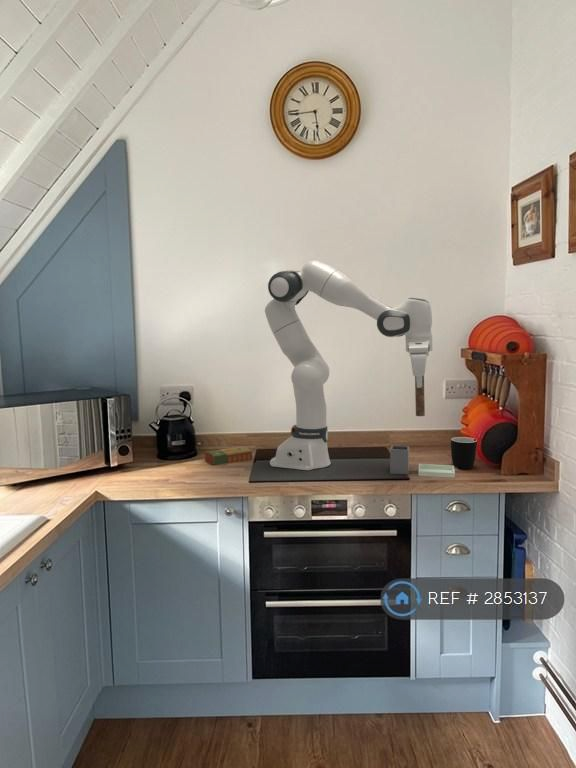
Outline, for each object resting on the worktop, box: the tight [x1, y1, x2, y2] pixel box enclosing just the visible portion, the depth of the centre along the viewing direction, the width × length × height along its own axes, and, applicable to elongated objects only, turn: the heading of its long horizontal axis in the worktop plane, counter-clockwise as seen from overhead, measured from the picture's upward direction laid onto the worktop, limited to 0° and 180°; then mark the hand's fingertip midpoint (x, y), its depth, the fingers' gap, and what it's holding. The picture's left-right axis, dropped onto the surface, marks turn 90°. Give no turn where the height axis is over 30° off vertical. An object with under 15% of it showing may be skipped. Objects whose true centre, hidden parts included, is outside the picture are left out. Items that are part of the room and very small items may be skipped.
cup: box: [389, 445, 410, 475], centre depth 209 cm, size 6×6×9 cm
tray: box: [417, 463, 456, 479], centre depth 208 cm, size 12×10×2 cm
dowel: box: [414, 375, 426, 417], centre depth 205 cm, size 3×3×14 cm
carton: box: [204, 445, 253, 466], centre depth 229 cm, size 8×16×4 cm, turn 120°
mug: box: [450, 436, 478, 470], centre depth 218 cm, size 12×9×10 cm
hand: (419, 386), depth 204 cm, fingers closed on dowel, 3 cm apart
